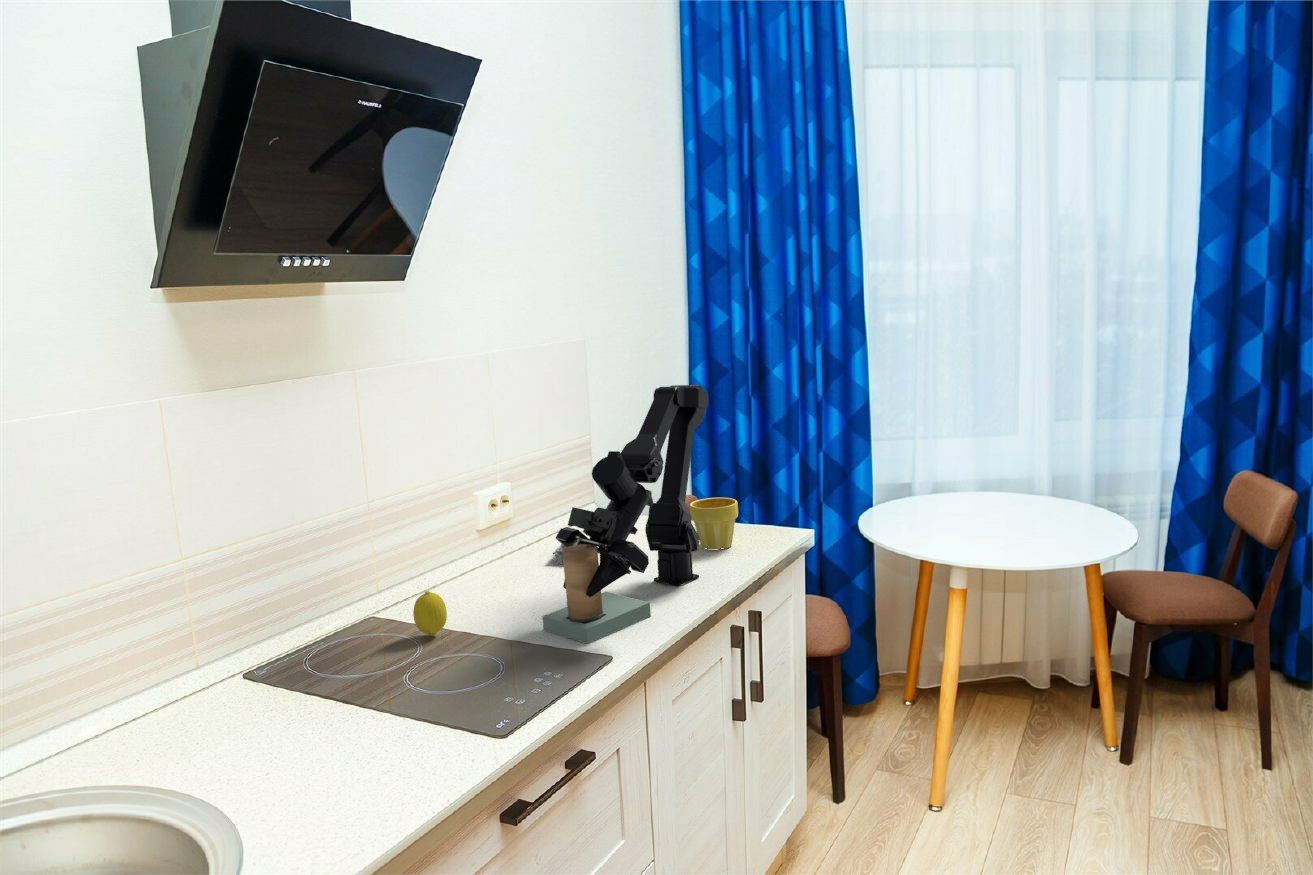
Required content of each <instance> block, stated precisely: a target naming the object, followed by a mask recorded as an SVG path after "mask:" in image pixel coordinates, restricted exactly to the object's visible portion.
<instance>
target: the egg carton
mask: <svg viewBox="0 0 1313 875" xmlns="http://www.w3.org/2000/svg"><path fill="white" fill-rule="evenodd" d="M564 548H566V547H565V546H564V545H563V544H561V543H560V545H559V547H556V549H555V551H554V552H552V554H553V556H555V557H554V558H555V563H557V562H558V563H557V564H558V565H564V564H563V553H562V550H563V549H564Z"/></svg>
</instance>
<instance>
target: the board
mask: <svg viewBox="0 0 1313 875" xmlns="http://www.w3.org/2000/svg"><path fill="white" fill-rule="evenodd" d="M601 597H602V608H603V617H602V618H600V619H598V620H596V621H592V622H589V623H586V624H583V623H577V622H572V621H570V620H569V619H568V606H566V607H563V608H560V609H558V610H555V611H553V612H550V613H547V614H545V615H542V617H541V618H542V625H543V631H544V632H547V633H551V634H555V635H558V636H560V637H564V638H568V639H571V640H574V641H577V642H581V643H584V644H587V645H588V644H591V643H593V642H595V641H598V640H600V639H602V638H604V637H606V636H609V635H612V634H614V633H616V632H618V631H621V630H623V629H625V628H627V627H630V626H633V625H634V624H636V623H638V622H640V621H643V620H645V619H647V618H650V617H652V614H651V612H652V611H651V602H649V601H646V600H641V599H638V598H633V597H629V596H625V595H622V594H617V593H613V592H610V591H603V592H601Z"/></svg>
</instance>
